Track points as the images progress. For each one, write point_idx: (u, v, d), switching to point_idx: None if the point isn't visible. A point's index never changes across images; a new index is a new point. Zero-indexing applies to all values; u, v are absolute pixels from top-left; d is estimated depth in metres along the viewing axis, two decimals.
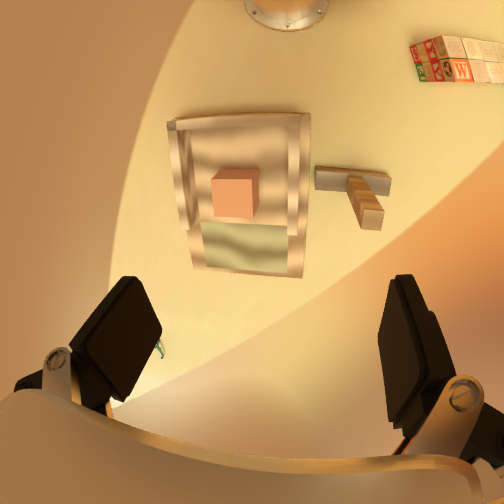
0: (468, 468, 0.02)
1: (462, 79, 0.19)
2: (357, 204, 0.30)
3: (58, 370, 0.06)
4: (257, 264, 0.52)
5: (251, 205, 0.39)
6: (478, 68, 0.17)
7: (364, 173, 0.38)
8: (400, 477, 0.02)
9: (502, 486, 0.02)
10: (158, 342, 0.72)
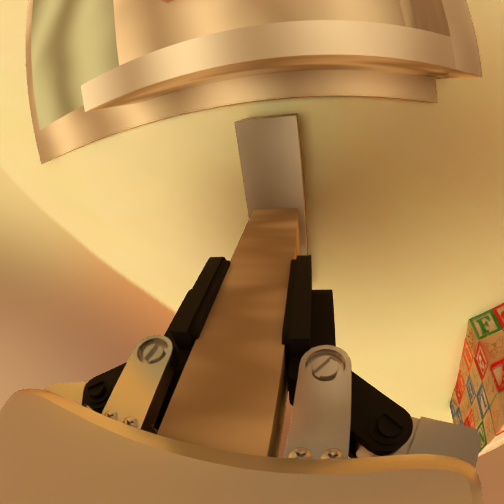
0: (468, 468, 0.02)
1: None
2: (245, 358, 0.06)
3: (148, 365, 0.06)
4: (41, 67, 0.13)
5: None
6: None
7: (306, 245, 0.16)
8: (400, 477, 0.02)
9: None
10: None
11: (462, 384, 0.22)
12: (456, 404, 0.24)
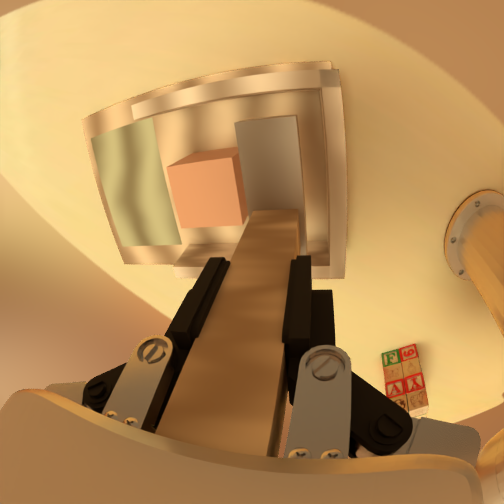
0: (468, 468, 0.02)
1: None
2: (244, 359, 0.06)
3: (149, 365, 0.06)
4: (118, 209, 0.33)
5: (200, 225, 0.24)
6: None
7: (306, 246, 0.16)
8: (400, 477, 0.02)
9: None
10: None
11: None
12: None
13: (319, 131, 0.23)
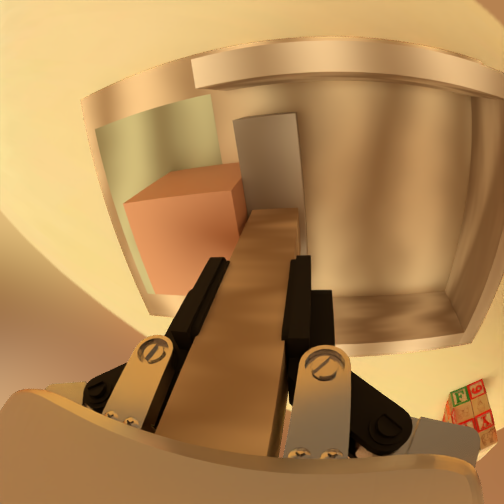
0: (468, 468, 0.02)
1: None
2: (243, 364, 0.06)
3: (149, 365, 0.06)
4: None
5: (183, 293, 0.15)
6: None
7: (306, 246, 0.16)
8: (400, 477, 0.02)
9: None
10: None
11: None
12: None
13: (467, 152, 0.13)
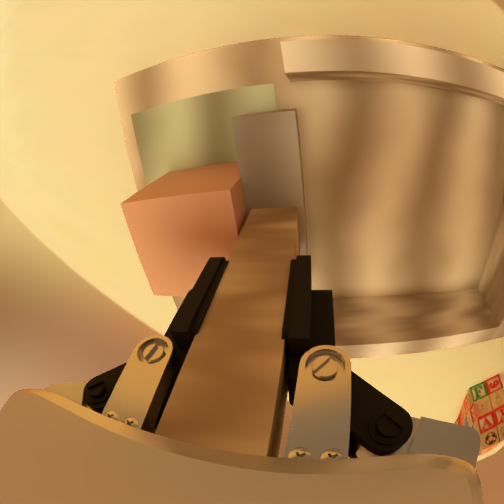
0: (468, 468, 0.02)
1: (482, 451, 0.18)
2: (240, 372, 0.06)
3: (148, 365, 0.06)
4: None
5: (182, 294, 0.15)
6: (486, 453, 0.18)
7: None
8: (400, 477, 0.02)
9: None
10: None
11: (462, 419, 0.30)
12: None
13: None
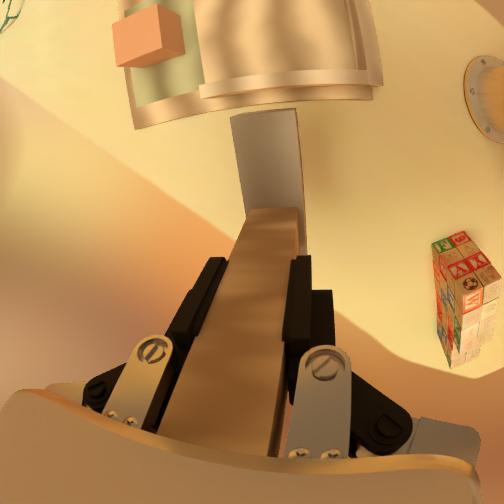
0: (468, 468, 0.02)
1: (465, 302, 0.23)
2: (240, 376, 0.06)
3: (148, 365, 0.06)
4: None
5: (130, 58, 0.21)
6: (474, 317, 0.24)
7: None
8: (400, 477, 0.02)
9: None
10: (13, 17, 0.18)
11: (440, 302, 0.36)
12: (440, 325, 0.38)
13: None
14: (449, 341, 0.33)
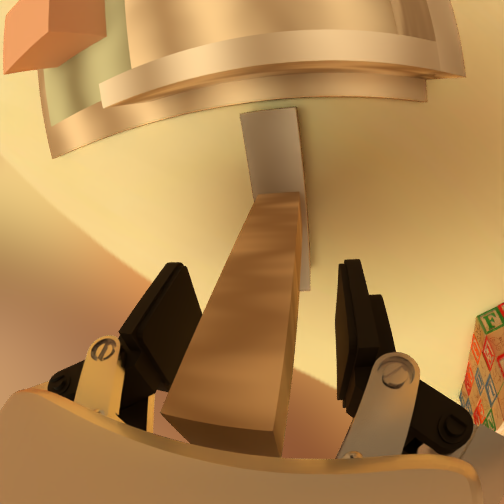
0: (468, 468, 0.02)
1: None
2: (256, 306, 0.07)
3: (102, 361, 0.06)
4: None
5: (15, 59, 0.08)
6: None
7: None
8: (400, 477, 0.02)
9: None
10: None
11: (471, 376, 0.23)
12: (466, 396, 0.25)
13: None
14: (474, 420, 0.20)
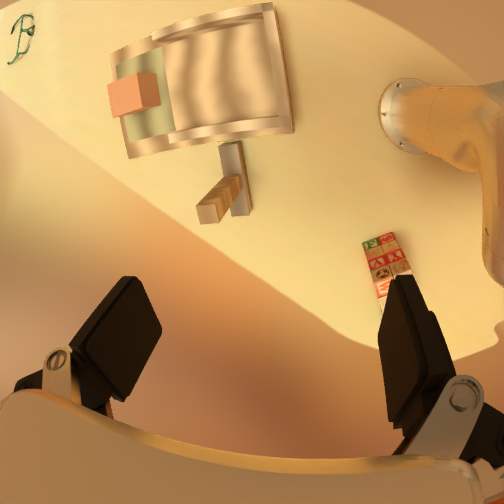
0: (468, 468, 0.02)
1: (377, 287, 0.37)
2: (216, 194, 0.33)
3: (58, 370, 0.06)
4: None
5: (122, 113, 0.34)
6: None
7: (246, 188, 0.43)
8: (400, 477, 0.02)
9: (502, 486, 0.02)
10: (22, 52, 0.31)
11: None
12: None
13: None
14: None
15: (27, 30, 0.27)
